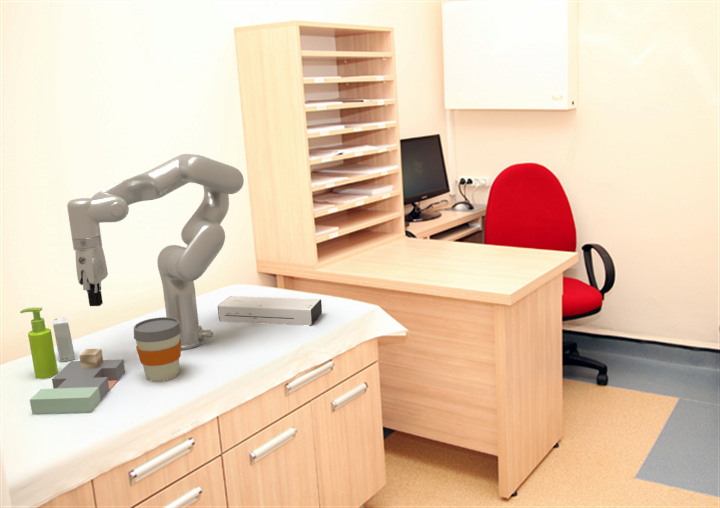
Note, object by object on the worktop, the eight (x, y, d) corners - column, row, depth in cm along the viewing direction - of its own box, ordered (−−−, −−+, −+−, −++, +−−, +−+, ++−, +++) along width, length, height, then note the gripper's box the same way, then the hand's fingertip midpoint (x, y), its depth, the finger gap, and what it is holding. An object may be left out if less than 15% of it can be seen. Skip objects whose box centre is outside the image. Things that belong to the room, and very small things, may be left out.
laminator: (219, 322, 227) (217, 305, 226) (233, 310, 239) (232, 294, 237) (312, 327, 219) (311, 309, 218) (323, 314, 231) (322, 298, 229)
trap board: (125, 372, 188) (123, 359, 187) (91, 412, 164) (89, 397, 163) (73, 374, 188) (71, 361, 187) (32, 414, 165) (29, 399, 164)
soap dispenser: (36, 371, 191) (25, 306, 186) (60, 369, 192) (50, 304, 187) (28, 379, 186) (16, 312, 181) (53, 377, 186) (42, 311, 181)
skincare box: (75, 359, 198) (69, 322, 196) (59, 362, 197) (52, 324, 194) (74, 353, 204) (68, 316, 201) (58, 356, 202) (52, 318, 199)
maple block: (103, 361, 186) (101, 348, 185) (97, 368, 181) (95, 354, 180) (87, 362, 186) (85, 349, 185) (81, 368, 181) (79, 355, 180)
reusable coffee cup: (194, 368, 188) (189, 319, 185) (165, 387, 177) (159, 334, 173) (160, 363, 193) (154, 315, 190) (129, 380, 182) (122, 329, 179)
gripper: (89, 248, 176) (98, 313, 180) (110, 236, 190) (118, 296, 195) (62, 249, 176) (71, 314, 180) (85, 237, 191) (93, 297, 195)
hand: (96, 305), depth 188 cm, fingers closed
